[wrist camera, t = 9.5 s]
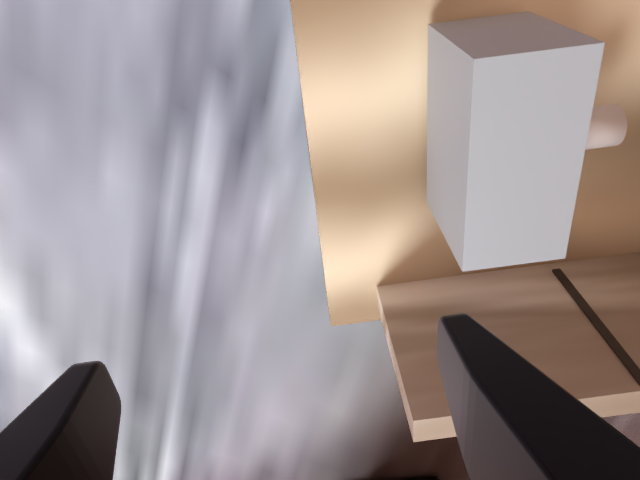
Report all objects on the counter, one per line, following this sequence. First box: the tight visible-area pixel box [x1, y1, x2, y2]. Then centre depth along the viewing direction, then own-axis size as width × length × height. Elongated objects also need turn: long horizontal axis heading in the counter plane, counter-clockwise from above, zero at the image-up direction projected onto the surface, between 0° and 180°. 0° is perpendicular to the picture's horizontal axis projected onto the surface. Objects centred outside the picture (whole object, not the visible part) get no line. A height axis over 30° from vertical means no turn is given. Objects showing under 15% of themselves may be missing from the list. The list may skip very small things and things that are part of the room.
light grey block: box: [426, 11, 627, 272], centre depth 15 cm, size 6×5×4 cm
